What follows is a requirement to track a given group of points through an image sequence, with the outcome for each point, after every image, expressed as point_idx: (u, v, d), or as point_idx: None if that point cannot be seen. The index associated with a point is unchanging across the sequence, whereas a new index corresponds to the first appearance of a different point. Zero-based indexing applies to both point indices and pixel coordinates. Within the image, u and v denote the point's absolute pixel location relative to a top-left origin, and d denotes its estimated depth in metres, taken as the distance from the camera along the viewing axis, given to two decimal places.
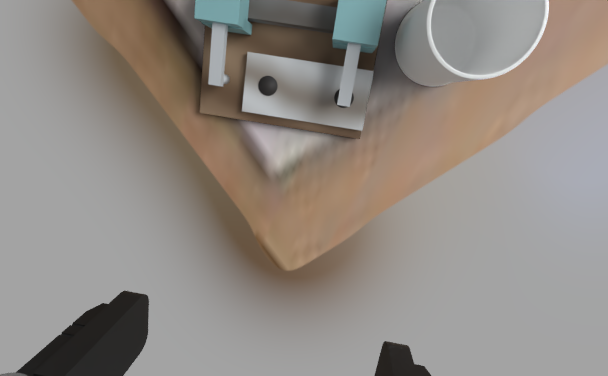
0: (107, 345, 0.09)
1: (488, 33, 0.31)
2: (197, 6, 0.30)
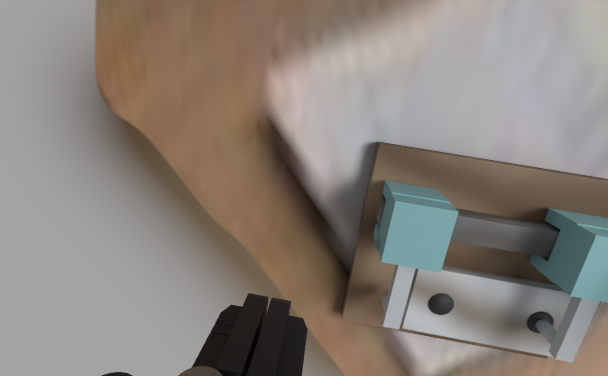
0: (254, 343, 0.10)
1: None
2: (387, 249, 0.23)
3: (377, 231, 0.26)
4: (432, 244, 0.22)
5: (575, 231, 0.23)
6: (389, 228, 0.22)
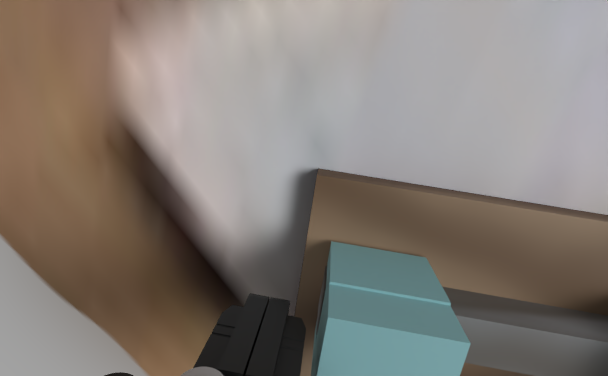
0: (255, 343, 0.10)
1: None
2: None
3: (315, 337, 0.14)
4: None
5: None
6: (318, 370, 0.10)
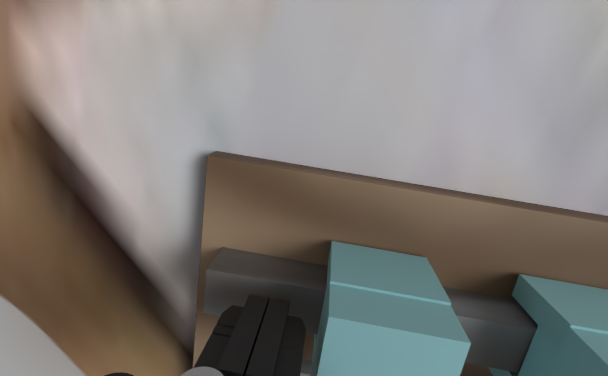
0: (255, 343, 0.10)
1: None
2: None
3: (315, 337, 0.14)
4: None
5: (566, 341, 0.11)
6: (319, 370, 0.10)
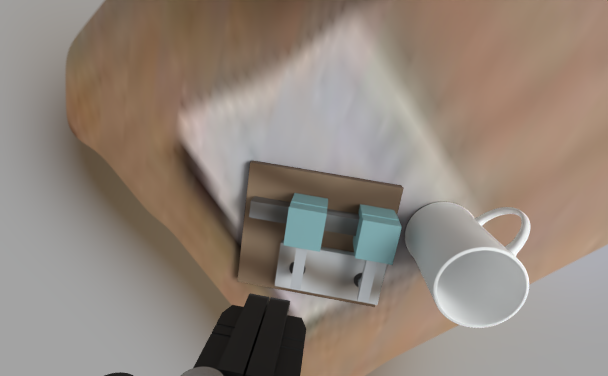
0: (255, 343, 0.10)
1: None
2: (286, 237, 0.36)
3: None
4: (313, 234, 0.36)
5: (361, 218, 0.37)
6: (286, 224, 0.36)
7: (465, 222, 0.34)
